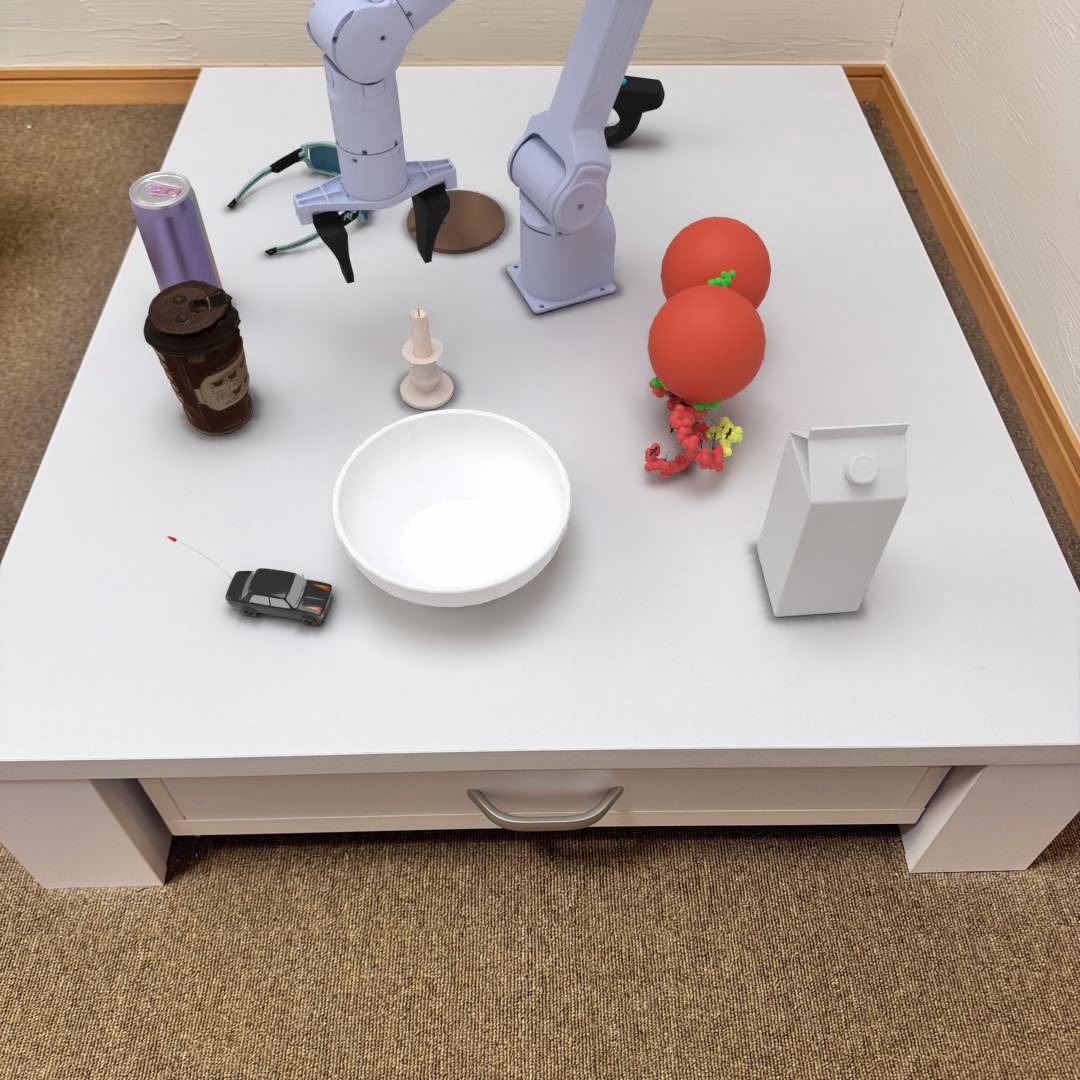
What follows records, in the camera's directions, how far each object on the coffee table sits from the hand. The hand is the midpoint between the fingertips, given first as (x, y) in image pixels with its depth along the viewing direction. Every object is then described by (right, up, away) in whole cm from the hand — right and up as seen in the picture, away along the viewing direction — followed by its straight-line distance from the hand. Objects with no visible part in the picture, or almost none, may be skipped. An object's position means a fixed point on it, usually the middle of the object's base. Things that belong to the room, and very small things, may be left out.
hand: (386, 266), depth 101 cm
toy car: (-9, -31, -12) cm, 35 cm away
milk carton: (+37, -30, -10) cm, 49 cm away
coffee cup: (-16, -14, +1) cm, 21 cm away
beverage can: (-21, -3, +10) cm, 23 cm away
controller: (+23, +23, +29) cm, 44 cm away
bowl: (+7, -27, -8) cm, 29 cm away
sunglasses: (-12, +12, +21) cm, 27 cm away
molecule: (+30, -12, +3) cm, 32 cm away
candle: (+4, -12, +3) cm, 12 cm away
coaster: (+5, +10, +19) cm, 22 cm away
